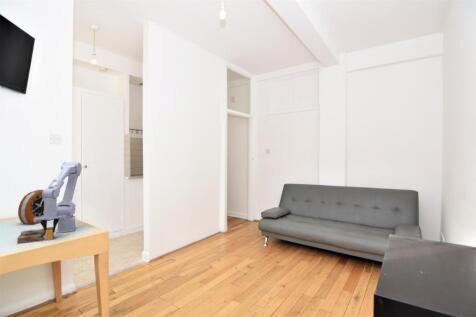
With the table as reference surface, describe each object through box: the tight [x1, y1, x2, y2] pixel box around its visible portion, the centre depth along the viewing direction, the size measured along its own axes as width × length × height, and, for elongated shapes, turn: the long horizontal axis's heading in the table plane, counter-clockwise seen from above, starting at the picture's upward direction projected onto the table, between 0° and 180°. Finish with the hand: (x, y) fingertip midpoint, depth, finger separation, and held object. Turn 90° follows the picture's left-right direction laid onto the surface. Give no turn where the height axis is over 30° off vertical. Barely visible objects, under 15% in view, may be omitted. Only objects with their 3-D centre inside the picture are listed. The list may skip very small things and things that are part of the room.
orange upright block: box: [45, 226, 55, 241], centre depth 139 cm, size 3×7×6 cm, turn 32°
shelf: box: [16, 228, 46, 245], centre depth 139 cm, size 10×15×5 cm, turn 32°
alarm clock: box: [17, 189, 51, 226], centre depth 173 cm, size 22×10×23 cm, turn 171°
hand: (49, 232), depth 139 cm, fingers closed on orange upright block, 3 cm apart
